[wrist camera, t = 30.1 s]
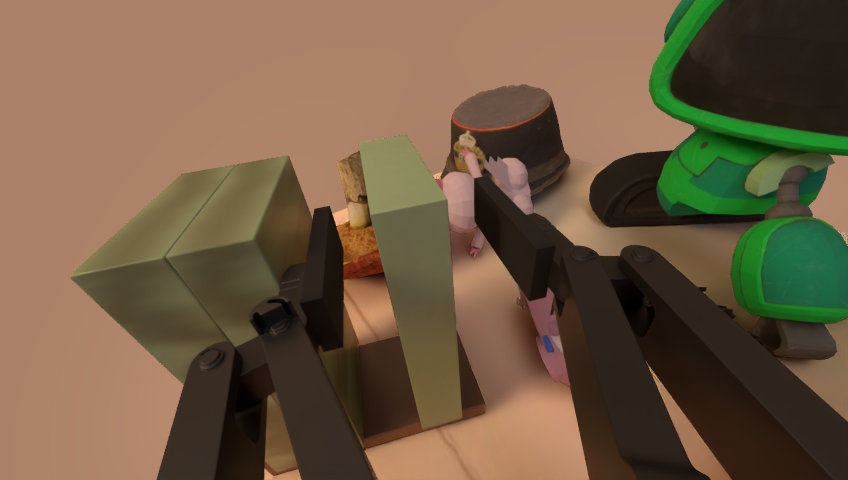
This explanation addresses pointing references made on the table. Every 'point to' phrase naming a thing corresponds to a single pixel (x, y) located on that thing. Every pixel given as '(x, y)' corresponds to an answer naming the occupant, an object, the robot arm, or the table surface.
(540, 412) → the table surface
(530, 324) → the table surface
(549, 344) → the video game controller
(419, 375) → the green book
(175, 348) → the book rack
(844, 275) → the robot
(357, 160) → the mushroom
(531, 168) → the hat
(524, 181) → the toy
